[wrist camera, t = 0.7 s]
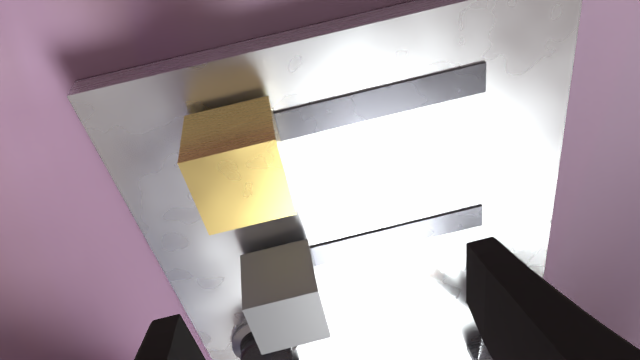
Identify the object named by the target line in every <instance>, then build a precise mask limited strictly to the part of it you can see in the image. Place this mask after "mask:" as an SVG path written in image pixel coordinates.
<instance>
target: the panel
mask: <svg viewBox="0 0 640 360" xmlns="http://www.w3.org/2000/svg"><path fill="white" fill-rule="evenodd" d="M581 6H582V0H415V1H411V2H407V3H402V4H398V5H394V6H390V7H386V8H381V9H377V10H373V11H369V12H364V13H360V14H356V15H352V16H348V17H343V18H339V19H335V20H331V21H327V22H322V23H318V24H314V25H310V26H306V27H301V28H297V29H293V30H289V31H285V32H280V33H276V34H272V35H268V36H264V37H259V38H255V39H251V40H247V41H242V42H238V43H234V44H230V45H226V46H221V47H217V48H213V49H209V50H205V51H200V52H196V53H192V54H188V55H184V56H179V57H175V58H171V59H167V60H163V61H158V62H154V63H150V64H146V65H142V66H137V67H133V68H129V69H125V70H120V71H116V72H112V73H108V74H104V75H99V76H95V77H91V78H87V79H83V80H78V81H75V83H74V85H73V87H72V88H71V90H70V92H69V93H68V95H67V97H68V99H69V101H70V103H71V104H72V106H73V108H74V110H75V112H76V114H77V115H78V117H79V119H80V121H81V123H82V124H83V126H84V128H85V130H86V132H87V133H88V135H89V137H90V139H91V141H92V143H93V144H94V146H95V148H96V150H97V152H98V153H99V155H100V157H101V159H102V161H103V162H104V164H105V166H106V168H107V170H108V171H109V173H110V175H111V177H112V179H113V181H114V182H115V184H116V186H117V188H118V190H119V191H120V193H121V195H122V197H123V199H124V200H125V202H126V204H127V206H128V208H129V210H130V211H131V213H132V215H133V217H134V219H135V220H136V222H137V224H138V226H139V228H140V229H141V231H142V233H143V235H144V237H145V238H146V240H147V242H148V244H149V246H150V248H151V249H152V251H153V253H154V255H155V257H156V258H157V260H158V262H159V264H160V266H161V267H162V269H163V271H164V273H165V275H166V277H167V278H168V280H169V282H170V284H171V286H172V287H173V289H174V291H175V293H176V295H177V296H178V298H179V300H180V302H181V304H182V305H183V307H184V309H185V311H186V313H187V315H188V316H189V318H190V320H191V322H192V324H193V325H194V327H195V329H196V331H197V333H198V334H199V336H200V338H201V340H202V342H203V343H204V345H205V347H206V349H207V351H208V353H209V354H210V356H211V358H212V360H478V356H479V349H480V342H481V335H480V333H479V331H478V328H477V326H476V324H475V321H474V319H473V316H472V314H471V312H470V309H469V307H468V304H467V302H466V243H468V242H472V241H476V240H480V239H484V238H488V237H494V238H496V239H497V240H498V241H499V242H501V243H502V244H503V245H504V246H505V247H506V248H507V249H509V250H510V251H511V252H512V253H513V254H514V255H515V256H517V257H518V258H519V259H520V260H521V261H522V262H524V263H525V264H526V265H527V266H528V267H530V268H531V269H532V270H533V271H534V272H536V273H537V274H538V275H539V276H540V277H542V278H543V276H544V269H545V262H546V255H547V248H548V240H549V233H550V226H551V219H552V212H553V205H554V198H555V191H556V184H557V176H558V169H559V162H560V155H561V148H562V141H563V134H564V127H565V120H566V113H567V105H568V98H569V91H570V84H571V77H572V70H573V63H574V56H575V49H576V41H577V34H578V27H579V20H580V13H581ZM265 96H269V99H270V103H271V107H272V110H273V114H274V118H275V121H276V125H277V129H278V132H279V136H280V139H281V143H282V147H283V150H284V154H285V158H286V161H287V165H288V171H289V176H290V181H291V187H292V192H293V198H294V203H295V208H296V214H295V215H291V216H287V217H283V218H279V219H275V220H271V221H267V222H263V223H258V224H254V225H250V226H246V227H242V228H238V229H234V230H230V231H226V232H222V233H218V234H214V235H209V234H208V232H207V230H206V227H205V225H204V223H203V220H202V218H201V216H200V214H199V211H198V209H197V207H196V205H195V202H194V200H193V198H192V195H191V193H190V191H189V189H188V186H187V184H186V182H185V180H184V177H183V175H182V173H181V171H180V168H179V166H178V164H177V163H178V156H179V149H180V142H181V135H182V128H183V121H184V116H186V115H190V114H194V113H198V112H202V111H206V110H211V109H215V108H219V107H223V106H227V105H231V104H236V103H240V102H244V101H248V100H252V99H256V98H261V97H265ZM304 239H308V242H309V245H310V249H311V253H312V256H313V260H314V264H315V267H316V271H317V275H318V278H319V282H320V286H321V291H322V296H323V300H324V305H325V310H326V315H327V320H328V324H329V329H330V334H331V338H327V339H323V340H319V341H315V342H311V343H307V344H303V345H299V346H295V347H291V348H287V349H283V350H279V351H275V352H271V353H267V354H263V355H262V354H261V352H260V350H259V348H258V345H257V343H256V341H255V338H254V336H253V334H252V332H251V329H250V327H249V325H248V323H247V320H246V318H245V316H244V313H243V311H242V294H241V266H240V255H243V254H247V253H252V252H256V251H260V250H264V249H268V248H272V247H276V246H280V245H284V244H288V243H292V242H296V241H300V240H304Z"/></svg>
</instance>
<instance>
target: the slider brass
mask: <svg viewBox="0 0 640 360" xmlns="http://www.w3.org/2000/svg"><path fill="white" fill-rule="evenodd" d="M177 164H178V166H179V168H180V171H181V173H182V175H183V177H184V180H185V182H186V184H187V186H188V189H189V191H190V193H191V195H192V198H193V200H194V202H195V205H196V207H197V209H198V211H199V214H200V216H201V218H202V220H203V223H204V225H205V227H206V230H207V232H208V234H209V235H214V234H218V233H222V232H226V231H230V230H234V229H238V228H242V227H246V226H250V225H254V224H258V223H263V222H267V221H271V220H275V219H279V218H283V217H287V216H291V215H295V214H296V208H295V203H294V198H293V192H292V187H291V181H290V176H289V171H288V165H287V161H286V158H285V154H284V150H283V147H282V143H281V139H280V136H279V132H278V129H277V125H276V121H275V118H274V114H273V110H272V107H271V103H270V99H269V96H265V97H261V98H256V99H252V100H248V101H244V102H240V103H236V104H231V105H227V106H223V107H219V108H215V109H211V110H206V111H202V112H198V113H194V114H190V115H186V116H184V121H183V128H182V135H181V142H180V149H179V156H178V163H177Z"/></svg>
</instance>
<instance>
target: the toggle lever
mask: <svg viewBox="0 0 640 360" xmlns="http://www.w3.org/2000/svg"><path fill="white" fill-rule="evenodd" d="M478 360H493V359H492V357H491V355H490V353H489V352H488V350H487V348H486V346H485V344H484V342H483V340H482V338H481V342H480V349H479V356H478Z"/></svg>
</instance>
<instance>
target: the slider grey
mask: <svg viewBox="0 0 640 360" xmlns="http://www.w3.org/2000/svg"><path fill="white" fill-rule="evenodd" d="M240 266H241V294H242V311H243V313H244V316H245V318H246V320H247V323H248V325H249V327H250V329H251V332H252V334H253V336H254V338H255V341H256V343H257V345H258V348H259V350H260V352H261V354H262V355H263V354H267V353H271V352H275V351H279V350H283V349H287V348H291V347H295V346H299V345H303V344H307V343H311V342H315V341H319V340H323V339H327V338H331V334H330V329H329V324H328V320H327V315H326V310H325V305H324V300H323V296H322V291H321V286H320V282H319V278H318V275H317V271H316V267H315V264H314V260H313V256H312V253H311V249H310V245H309V242H308V239H304V240H300V241H296V242H292V243H288V244H284V245H280V246H276V247H272V248H268V249H264V250H260V251H256V252H252V253H247V254H243V255H240Z"/></svg>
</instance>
